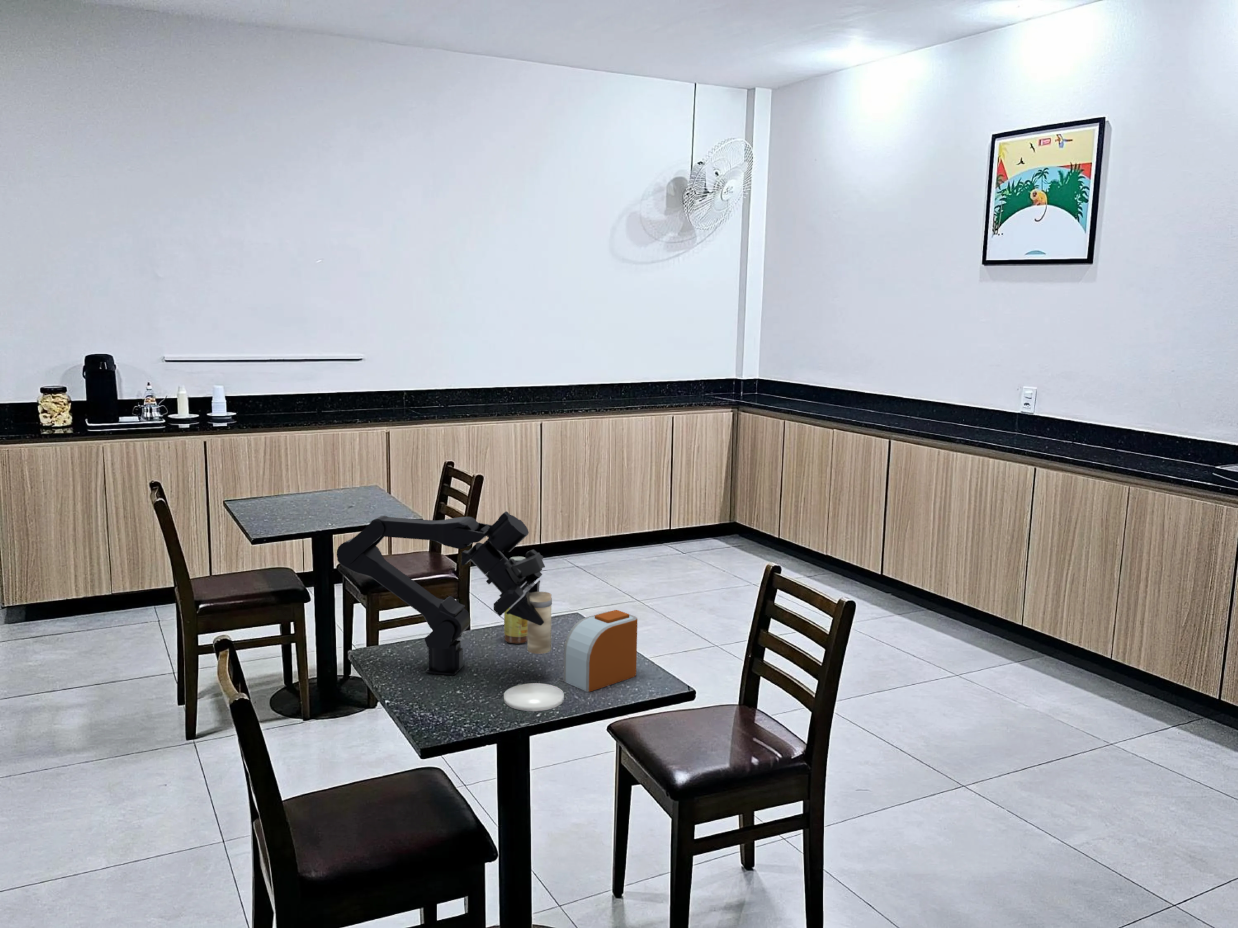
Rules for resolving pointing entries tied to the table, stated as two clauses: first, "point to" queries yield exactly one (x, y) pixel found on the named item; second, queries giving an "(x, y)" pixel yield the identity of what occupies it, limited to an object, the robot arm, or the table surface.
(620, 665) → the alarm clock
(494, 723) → the table surface
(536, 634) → the beech handle
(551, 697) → the ceramic plate
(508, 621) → the sauce bottle
